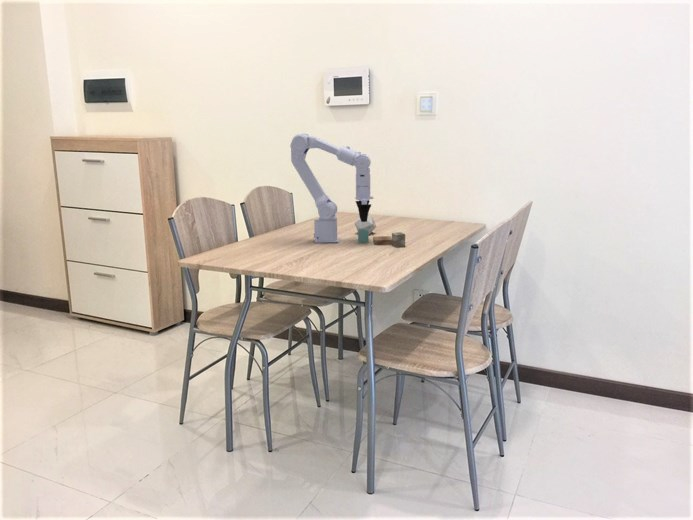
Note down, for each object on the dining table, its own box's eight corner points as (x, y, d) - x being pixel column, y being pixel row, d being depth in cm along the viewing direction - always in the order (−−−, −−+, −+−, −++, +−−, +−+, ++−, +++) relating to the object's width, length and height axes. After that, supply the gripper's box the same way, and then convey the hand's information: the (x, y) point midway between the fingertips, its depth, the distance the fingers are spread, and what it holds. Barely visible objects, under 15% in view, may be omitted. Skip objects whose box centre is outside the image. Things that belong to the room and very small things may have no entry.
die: (362, 237, 245) (376, 219, 243) (347, 226, 248) (361, 208, 247) (369, 241, 252) (382, 223, 251) (355, 229, 255) (368, 212, 254)
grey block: (395, 247, 223) (395, 234, 222) (391, 245, 227) (391, 232, 226) (405, 246, 224) (405, 234, 223) (401, 244, 228) (401, 232, 227)
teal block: (358, 242, 232) (358, 230, 231) (358, 240, 236) (357, 228, 235) (368, 242, 232) (368, 230, 231) (367, 240, 236) (367, 228, 235)
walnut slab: (374, 246, 228) (374, 240, 227) (373, 242, 234) (373, 236, 234) (392, 245, 228) (392, 239, 227) (390, 242, 235) (390, 236, 234)
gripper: (374, 187, 222) (374, 223, 225) (371, 183, 236) (371, 216, 239) (356, 188, 222) (356, 223, 225) (354, 184, 236) (354, 217, 239)
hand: (363, 220), depth 232 cm, fingers open, 7 cm apart
